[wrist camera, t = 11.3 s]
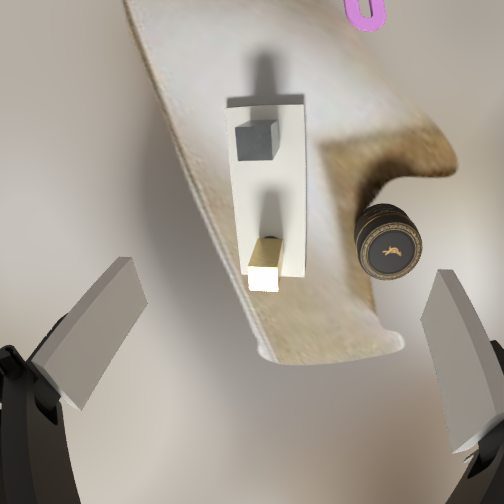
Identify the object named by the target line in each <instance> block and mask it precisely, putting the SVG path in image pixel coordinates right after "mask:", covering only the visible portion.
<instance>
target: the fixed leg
mask: <svg viewBox="0 0 504 504" xmlns="http://www.w3.org/2000/svg"><path fill="white" fill-rule="evenodd" d="M235 136H236V147H237V158H238V161H264V160H273V159H274V157H275V155H276V153H277V152H278V150H279V148H280V144H279V125H278V119H274V120H250V121H247V122H245V123H243V124H241V125H239V126H236V127H235Z"/></svg>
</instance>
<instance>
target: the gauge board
mask: <svg viewBox="0 0 504 504" xmlns="http://www.w3.org/2000/svg"><path fill="white" fill-rule="evenodd" d="M224 111H225V122H226V132H227V142H228V153H229V163H230V172H231V182H232V192H233V201H234V211H235V220H236V229H237V238H238V248H239V257H240V265H241V274H246V275H248V264H249V261H250V258H251V255H252V253H253V250H254V247H255V244H256V241H257V238H269V239H283V265H282V271H281V276H288V277H304V275H305V244H306V150H305V118H304V104H289V105H260V106H244V107H231V108H224ZM274 119H278V125H279V144H280V148H279V150H278V152H277V153H276V155H275V157H274V159H273V160H264V161H238V158H237V147H236V136H235V127H236V126H239V125H241V124H243V123H245V122H247V121H250V120H274Z"/></svg>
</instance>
